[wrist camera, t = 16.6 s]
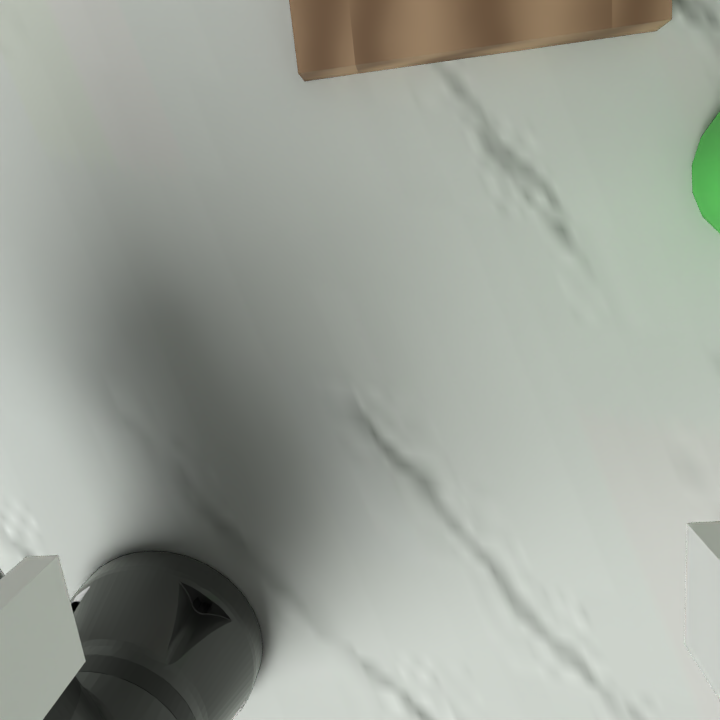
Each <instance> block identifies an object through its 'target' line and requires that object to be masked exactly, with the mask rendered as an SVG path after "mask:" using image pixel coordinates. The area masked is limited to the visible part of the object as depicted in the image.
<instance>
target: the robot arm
mask: <svg viewBox="0 0 720 720" xmlns="http://www.w3.org/2000/svg"><path fill="white" fill-rule="evenodd" d="M684 645H685V646H686V648H687V649H688V651H689V653H690V654H691V656H692V657H693V659H694V661H695V662H696V664H697V665H698V667H699V669H700V670H701V672H702V673H703V675H704V677H705V678H706V680H707V681H708V683H709V684H710V686H711V688H712V689H713V691H714V692H715V694H716V696H717V697H718V699H719V700H720V521H715V522H696V523H687V534H686V581H685V629H684ZM261 659H262V637H261V632H260V628H259V624H258V621H257V619H256V616H255V614H254V612H253V610H252V608H251V606H250V605H249V603H248V602H247V600H246V599H245V597H244V596H243V595H242V593H241V592H240V591H239V590H238V589H237V588H236V587H235V586H234V585H233V584H232V583H231V582H230V581H229V580H228V579H227V578H225V577H224V576H223V575H221V574H220V573H219V572H217V571H216V570H214V569H213V568H211V567H209V566H207V565H206V564H203V563H201V562H199V561H197V560H194V559H192V558H189V557H186V556H183V555H179V554H174V553H168V552H158V551H147V552H138V553H132V554H128V555H125V556H122V557H119V558H116V559H114V560H112V561H110V562H108V563H107V564H105V565H103V566H102V567H101V568H99V569H98V570H97V571H96V572H95V573H93V574H92V575H91V577H90V578H89V579H88V580H87V581H86V582H85V583H84V584H83V585H82V587H81V588H80V589H79V590H78V591H77V592H76V593H75V595H74V596H73V597H72V599H71V600H70V599H69V595H68V591H67V587H66V583H65V579H64V575H63V571H62V568H61V564H60V560H59V556H58V555H50V556H30V557H25V558H24V559H23V560H22V561H21V562H20V563H18V564H17V565H16V566H15V567H14V568H13V569H12V570H10V571H9V572H8V573H7V574H6V575H4V573H3V572H2V570H1V569H0V720H233V719H234V718H235V717H236V716H237V715H238V713H239V712H240V711H241V710H242V708H243V707H244V705H245V703H246V701H247V700H248V698H249V696H250V694H251V691H252V689H253V686H254V683H255V680H256V677H257V674H258V671H259V668H260V664H261Z"/></svg>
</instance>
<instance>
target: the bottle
mask: <svg viewBox="0 0 720 720" xmlns="http://www.w3.org/2000/svg"><path fill="white" fill-rule="evenodd" d="M692 191H693V195H694V197H695V200H696V202H697V205H698V207H699V209H700V212H701V214H702V216H703V218H704V219H706V220H707V221H708V222H709V223H710V224H711V225H712V226H713V227H714V228H715V229H716V230H717V231H718V232H719V233H720V112H719V113H718V115H717V116H716V117H715V119H714V120H713V121H712V123H711V124H710V126H709V127H708V128H707V130H706V131H705V132H704V134H703V135H702V137H701V139H700V142H699V145H698V148H697V151H696V154H695V157H694V160H693V163H692Z"/></svg>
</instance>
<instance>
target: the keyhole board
mask: <svg viewBox="0 0 720 720" xmlns="http://www.w3.org/2000/svg"><path fill="white" fill-rule="evenodd" d="M289 3H290V11H291V19H292V27H293V35H294V43H295V51H296V59H297V67H298V74H299V75H300V76H301V77H302V78H303V80H304V81H309V80H316V79H323V78H330V77H337V76H344V75H351V74H358V73H365V72H372V71H379V70H386V69H393V68H400V67H407V66H414V65H421V64H428V63H435V62H442V61H449V60H456V59H463V58H470V57H477V56H484V55H491V54H498V53H505V52H512V51H519V50H526V49H533V48H540V47H547V46H554V45H561V44H568V43H575V42H582V41H589V40H596V39H603V38H610V37H617V36H624V35H631V34H638V33H645V32H652V31H657V30H658V29H660V28H661V27H662V26H664V25H665V24H666V23H668V22H669V21H670V20H671V19H672V0H289Z"/></svg>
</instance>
